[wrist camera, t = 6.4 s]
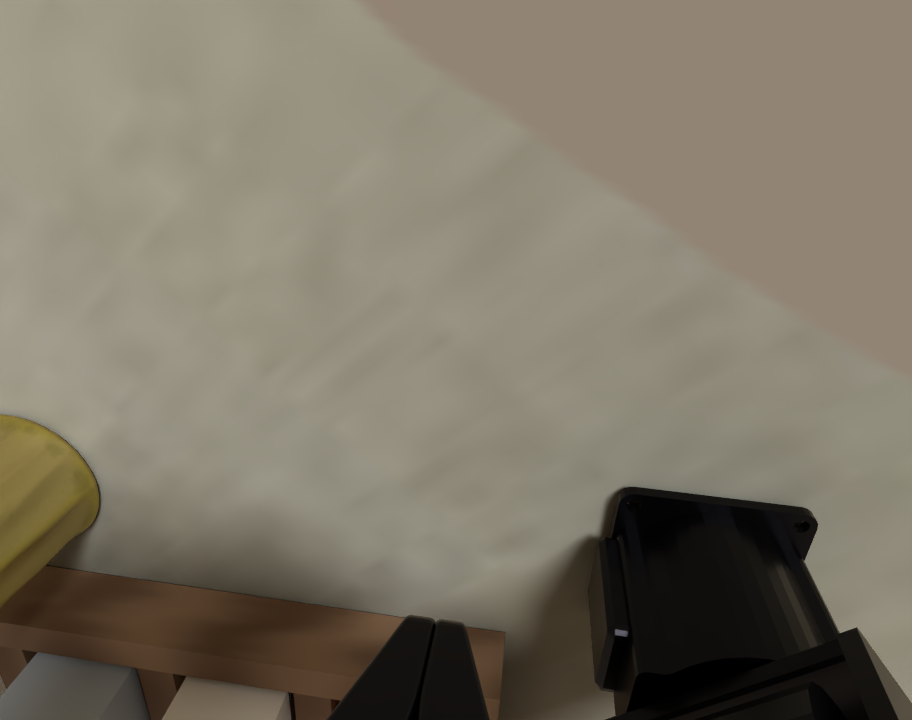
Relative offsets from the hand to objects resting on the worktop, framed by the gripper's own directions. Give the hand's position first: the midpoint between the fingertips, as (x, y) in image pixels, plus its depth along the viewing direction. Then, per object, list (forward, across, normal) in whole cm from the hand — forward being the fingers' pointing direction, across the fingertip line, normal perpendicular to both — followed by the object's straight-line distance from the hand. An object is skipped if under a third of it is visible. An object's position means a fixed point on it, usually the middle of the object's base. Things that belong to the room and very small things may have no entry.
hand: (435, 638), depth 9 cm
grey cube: (+9, +16, +18) cm, 26 cm away
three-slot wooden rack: (+12, +9, +18) cm, 23 cm away
